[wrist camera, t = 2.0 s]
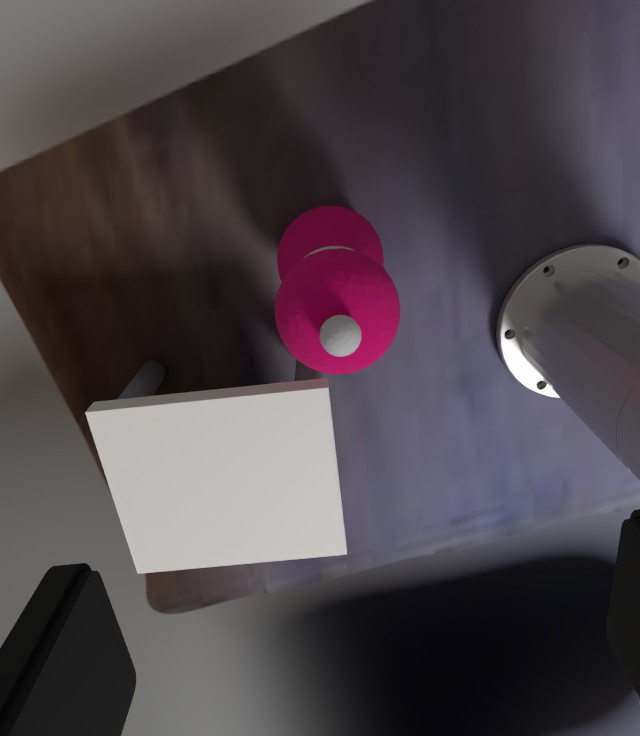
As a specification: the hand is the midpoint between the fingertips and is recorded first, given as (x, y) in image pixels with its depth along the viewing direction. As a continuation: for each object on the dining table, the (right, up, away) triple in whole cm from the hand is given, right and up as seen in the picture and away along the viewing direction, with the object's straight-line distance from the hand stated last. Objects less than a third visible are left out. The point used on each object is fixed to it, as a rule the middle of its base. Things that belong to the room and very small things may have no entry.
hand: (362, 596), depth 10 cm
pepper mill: (0, +13, +30) cm, 33 cm away
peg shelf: (-8, 0, +36) cm, 37 cm away
